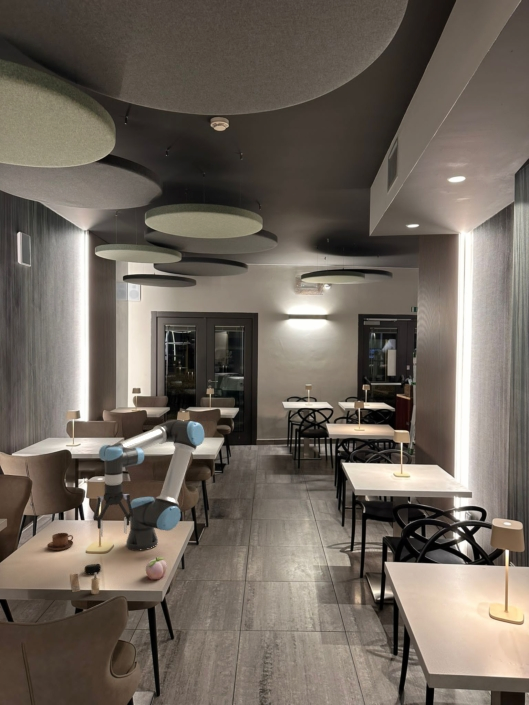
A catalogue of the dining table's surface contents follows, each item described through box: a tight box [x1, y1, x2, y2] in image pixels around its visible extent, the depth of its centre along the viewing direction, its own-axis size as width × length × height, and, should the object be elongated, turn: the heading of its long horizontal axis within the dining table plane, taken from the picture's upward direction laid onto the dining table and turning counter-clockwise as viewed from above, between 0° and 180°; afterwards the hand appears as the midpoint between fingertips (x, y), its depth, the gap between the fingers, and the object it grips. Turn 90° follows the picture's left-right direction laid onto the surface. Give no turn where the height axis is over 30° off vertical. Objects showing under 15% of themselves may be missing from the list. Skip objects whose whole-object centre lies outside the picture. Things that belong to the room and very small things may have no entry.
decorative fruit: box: [145, 557, 168, 580], centre depth 232 cm, size 9×8×10 cm
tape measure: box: [83, 563, 102, 575], centre depth 238 cm, size 7×7×4 cm
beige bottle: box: [90, 572, 100, 595], centre depth 218 cm, size 3×3×9 cm
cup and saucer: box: [47, 532, 74, 551], centre depth 269 cm, size 12×12×6 cm
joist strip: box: [69, 573, 81, 593], centre depth 227 cm, size 3×18×1 cm, turn 22°
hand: (113, 534), depth 238 cm, fingers open, 9 cm apart
